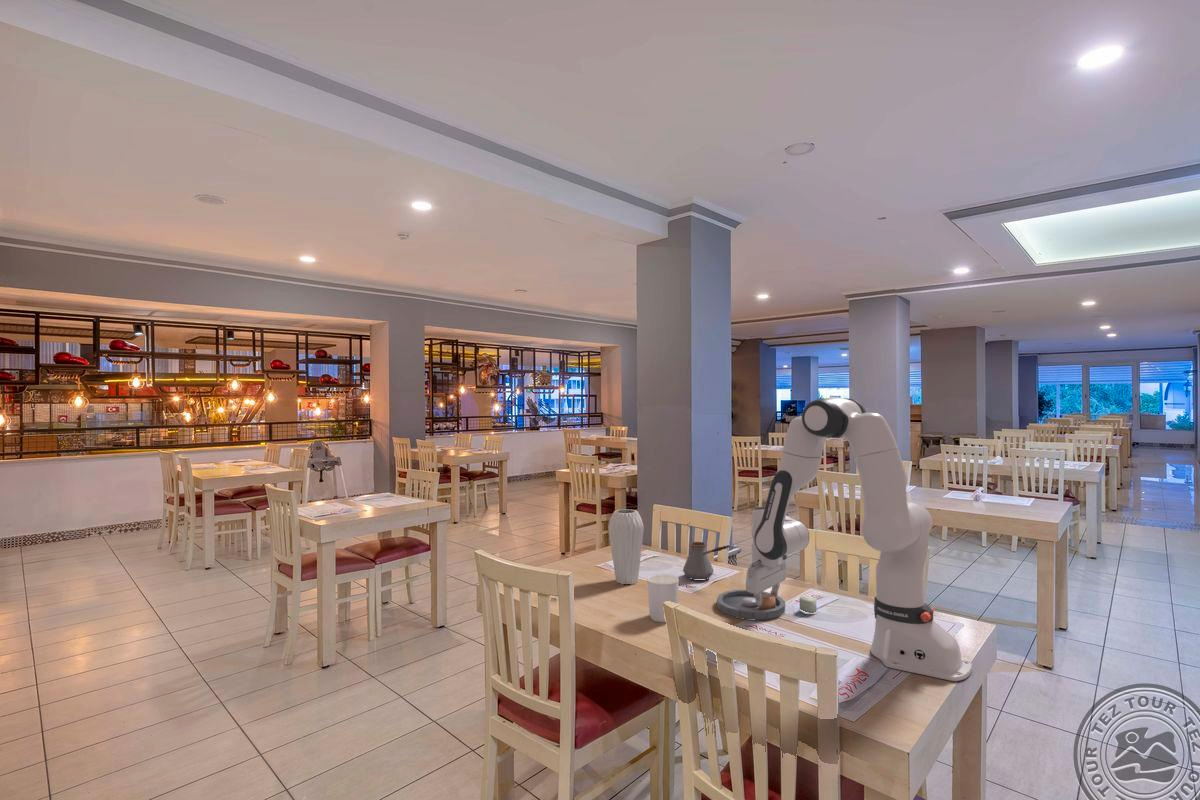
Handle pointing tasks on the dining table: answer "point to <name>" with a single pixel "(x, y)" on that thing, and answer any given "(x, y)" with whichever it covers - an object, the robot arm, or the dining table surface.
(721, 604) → the groove tray
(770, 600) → the terracotta bead
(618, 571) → the vase
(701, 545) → the coffee pot
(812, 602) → the sage bead
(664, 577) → the white paper cup
